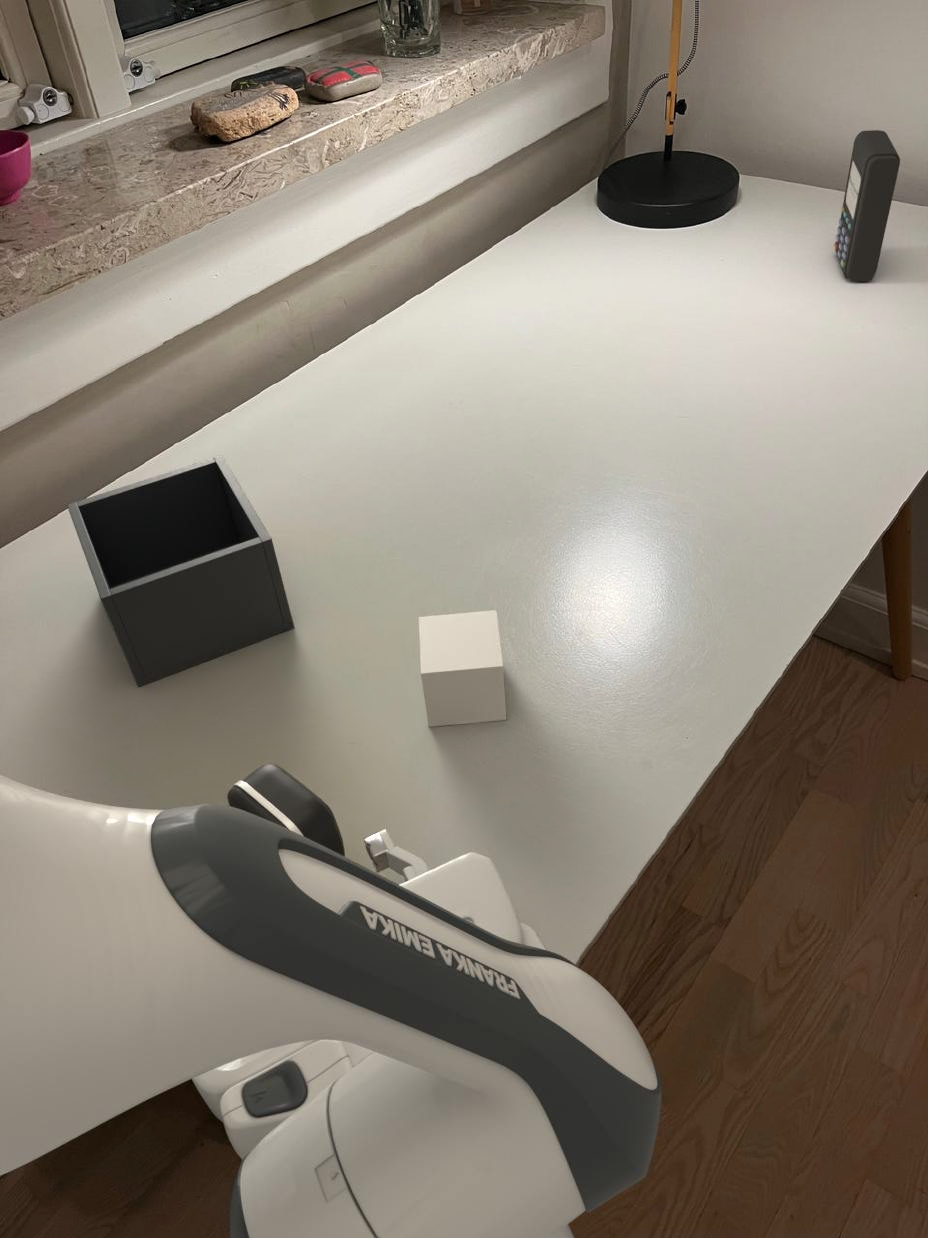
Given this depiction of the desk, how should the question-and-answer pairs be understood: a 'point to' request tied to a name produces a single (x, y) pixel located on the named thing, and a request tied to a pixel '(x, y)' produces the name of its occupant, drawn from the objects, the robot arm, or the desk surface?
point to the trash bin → (182, 568)
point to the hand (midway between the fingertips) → (304, 870)
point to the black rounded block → (287, 805)
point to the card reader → (866, 204)
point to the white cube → (462, 668)
